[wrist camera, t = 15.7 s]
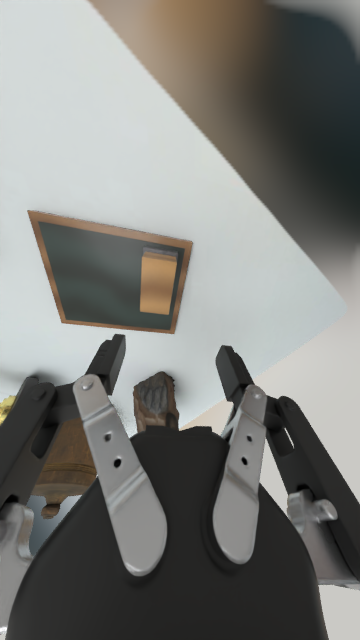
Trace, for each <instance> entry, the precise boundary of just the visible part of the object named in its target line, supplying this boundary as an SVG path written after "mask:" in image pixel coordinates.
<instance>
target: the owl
mask: <svg viewBox="0 0 360 640" xmlns="http://www.w3.org/2000/svg"><path fill="white" fill-rule="evenodd" d="M174 381H175V380H174V379H172V377H170V376H168V375H167V374H166V373H165V372H159V373H157V374H155V375H154V376H151V377H150V378H149V379H146V380H145V381H142V382H140V383H139V384H138V385H136V386H134V392H133V396H134V416H135V418H136V423H137V431H138V433H139V432H141V431H144V430H145V429H146V425H159V426H166V427H169V428H172V429H175V430H178V431H179V428H178V420H179V412H178V410H177V409H176V402H175V398H174V391H175V390H174V386H175V385H174V384H173V382H174Z"/></svg>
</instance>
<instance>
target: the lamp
mask: <svg viewBox="0 0 360 640" xmlns="http://www.w3.org/2000/svg"><path fill="white" fill-rule="evenodd" d="M38 381H39V379H38V378H29V377H27V378H26V379H25V381H24V383H23V384H22V386H21V388H20V390H19V392H18V393H17V395H16V396H9V397H8V398H5V399H4V400H3V402H2V403H0V425H1V423H2V422H3V421H4V419H5V418H6V417H7V415H8V414H9V413H10V411H11V410H12V409H13V407H14V406H15V405H16V403H17V402H18V401H19V399H20V398H21V397H22V395H23V394H24V393H25V392H26V391H27V390H28V389H29V388H31V387H33V386H35V385H37V384H38Z"/></svg>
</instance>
